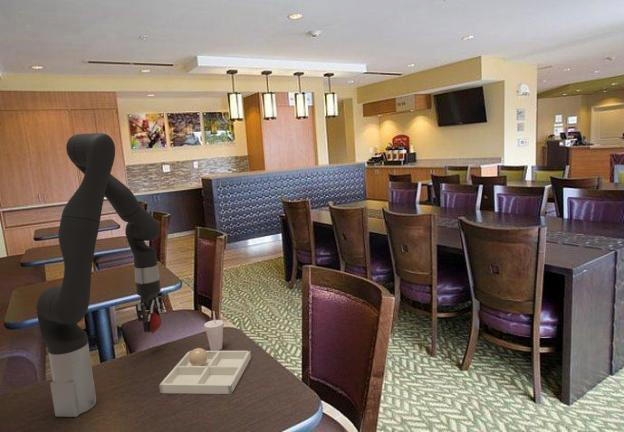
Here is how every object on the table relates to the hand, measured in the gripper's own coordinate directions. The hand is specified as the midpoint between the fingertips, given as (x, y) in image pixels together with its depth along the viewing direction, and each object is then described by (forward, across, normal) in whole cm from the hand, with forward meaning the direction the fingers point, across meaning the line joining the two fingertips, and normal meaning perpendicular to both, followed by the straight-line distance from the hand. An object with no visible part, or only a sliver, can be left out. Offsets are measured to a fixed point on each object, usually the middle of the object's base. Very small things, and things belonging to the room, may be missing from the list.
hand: (152, 327), depth 143 cm
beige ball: (+8, +10, +19) cm, 23 cm away
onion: (+2, 0, 0) cm, 2 cm away
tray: (+9, +15, +24) cm, 30 cm away
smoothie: (+9, -2, +21) cm, 23 cm away
